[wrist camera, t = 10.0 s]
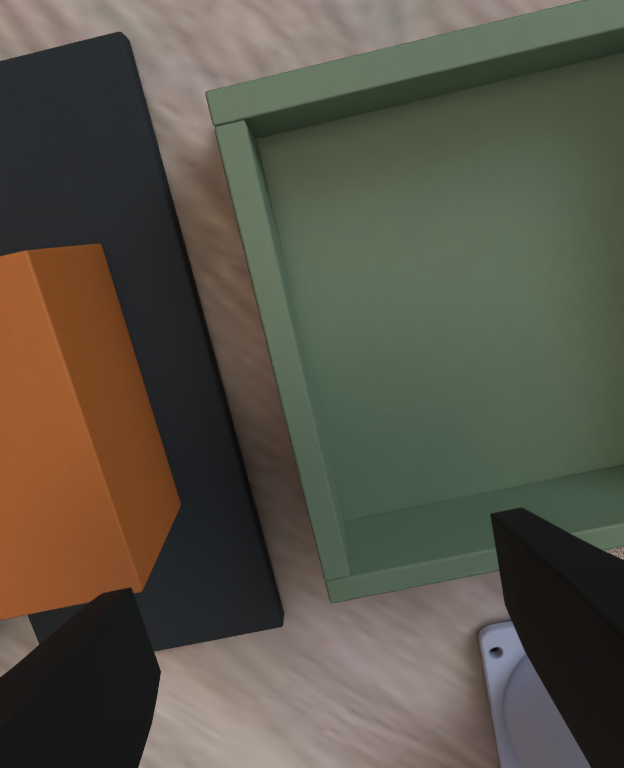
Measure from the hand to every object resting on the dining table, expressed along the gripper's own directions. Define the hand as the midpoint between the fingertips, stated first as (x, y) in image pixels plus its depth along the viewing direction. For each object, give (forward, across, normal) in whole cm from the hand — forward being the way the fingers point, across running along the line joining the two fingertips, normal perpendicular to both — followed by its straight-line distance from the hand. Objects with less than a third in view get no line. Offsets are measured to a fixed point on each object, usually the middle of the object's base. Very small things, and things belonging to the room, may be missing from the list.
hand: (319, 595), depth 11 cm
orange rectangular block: (+8, +7, -3) cm, 12 cm away
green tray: (+9, -6, -3) cm, 12 cm away
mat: (+9, +7, -3) cm, 12 cm away
